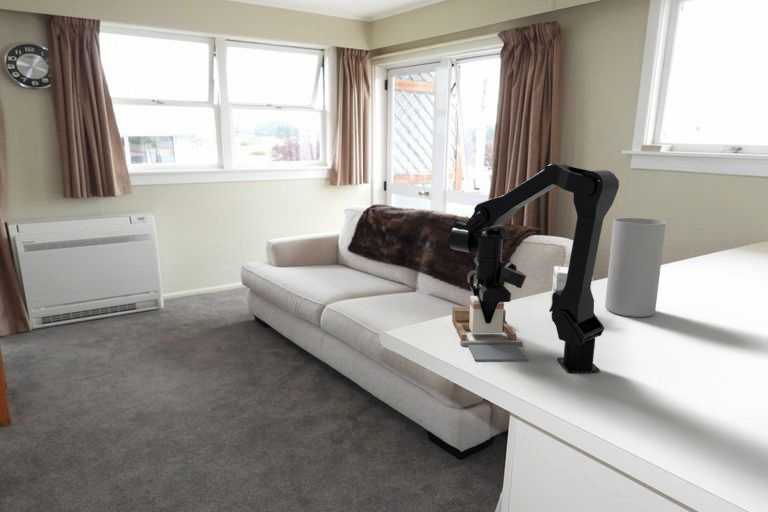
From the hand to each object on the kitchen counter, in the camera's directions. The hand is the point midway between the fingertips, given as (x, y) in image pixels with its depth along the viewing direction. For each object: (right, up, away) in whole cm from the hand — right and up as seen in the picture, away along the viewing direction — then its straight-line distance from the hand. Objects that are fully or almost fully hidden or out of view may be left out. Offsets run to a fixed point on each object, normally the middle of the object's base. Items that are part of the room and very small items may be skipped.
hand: (485, 320), depth 121 cm
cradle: (0, -3, +2) cm, 4 cm away
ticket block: (0, -3, 0) cm, 3 cm away
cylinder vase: (+44, 0, +20) cm, 48 cm away
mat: (0, -6, -10) cm, 12 cm away
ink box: (+25, 0, +19) cm, 31 cm away
